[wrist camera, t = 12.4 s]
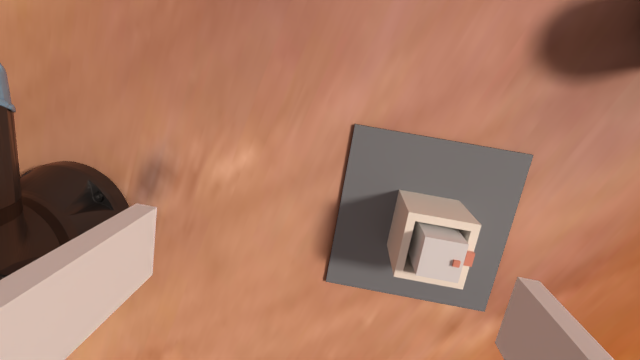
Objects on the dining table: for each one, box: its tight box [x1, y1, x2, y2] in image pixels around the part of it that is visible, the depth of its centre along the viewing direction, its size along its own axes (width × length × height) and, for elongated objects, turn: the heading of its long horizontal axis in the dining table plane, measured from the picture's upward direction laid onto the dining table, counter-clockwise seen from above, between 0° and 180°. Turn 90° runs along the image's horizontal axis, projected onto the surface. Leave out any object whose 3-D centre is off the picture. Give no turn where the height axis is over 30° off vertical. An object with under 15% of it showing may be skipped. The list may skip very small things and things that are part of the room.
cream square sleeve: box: [387, 190, 481, 290], centre depth 41 cm, size 7×7×8 cm
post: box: [326, 124, 533, 312], centre depth 41 cm, size 20×20×11 cm
